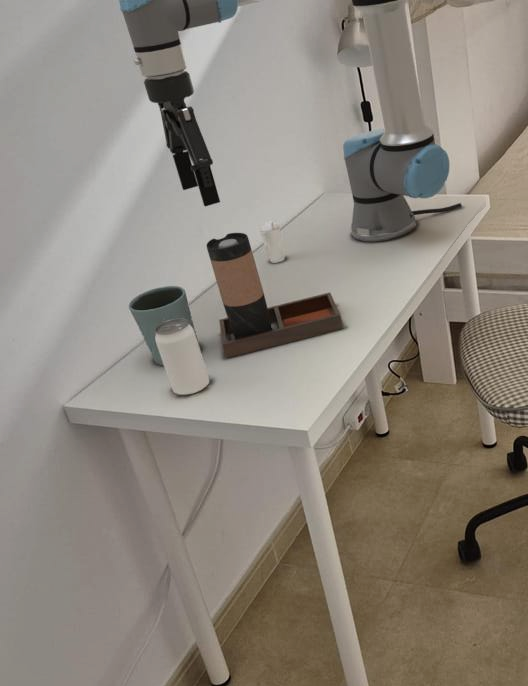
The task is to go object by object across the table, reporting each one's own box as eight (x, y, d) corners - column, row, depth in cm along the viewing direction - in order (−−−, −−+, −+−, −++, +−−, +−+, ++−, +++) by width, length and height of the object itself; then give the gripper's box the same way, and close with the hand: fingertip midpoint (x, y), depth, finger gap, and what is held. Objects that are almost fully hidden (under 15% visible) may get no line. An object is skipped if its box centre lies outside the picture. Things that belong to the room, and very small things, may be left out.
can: (206, 393, 150) (186, 331, 144) (169, 398, 150) (147, 337, 144) (213, 374, 155) (194, 314, 149) (177, 379, 155) (157, 320, 149)
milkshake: (273, 267, 196) (262, 225, 191) (265, 260, 200) (254, 219, 196) (292, 260, 198) (281, 219, 193) (283, 254, 202) (273, 213, 197)
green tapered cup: (213, 350, 164) (194, 292, 158) (164, 374, 158) (144, 315, 152) (186, 336, 170) (168, 281, 164) (139, 359, 165) (118, 302, 159)
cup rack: (223, 333, 170) (219, 319, 168) (333, 305, 174) (330, 292, 172) (226, 358, 160) (222, 344, 158) (343, 328, 164) (340, 314, 163)
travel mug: (265, 347, 162) (237, 248, 152) (228, 348, 164) (198, 249, 154) (280, 327, 168) (255, 231, 158) (244, 328, 170) (217, 233, 160)
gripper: (126, 71, 154) (162, 187, 164) (162, 88, 134) (200, 217, 145) (168, 62, 157) (201, 176, 167) (209, 77, 137) (243, 204, 148)
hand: (201, 195), depth 156 cm, fingers open, 13 cm apart
